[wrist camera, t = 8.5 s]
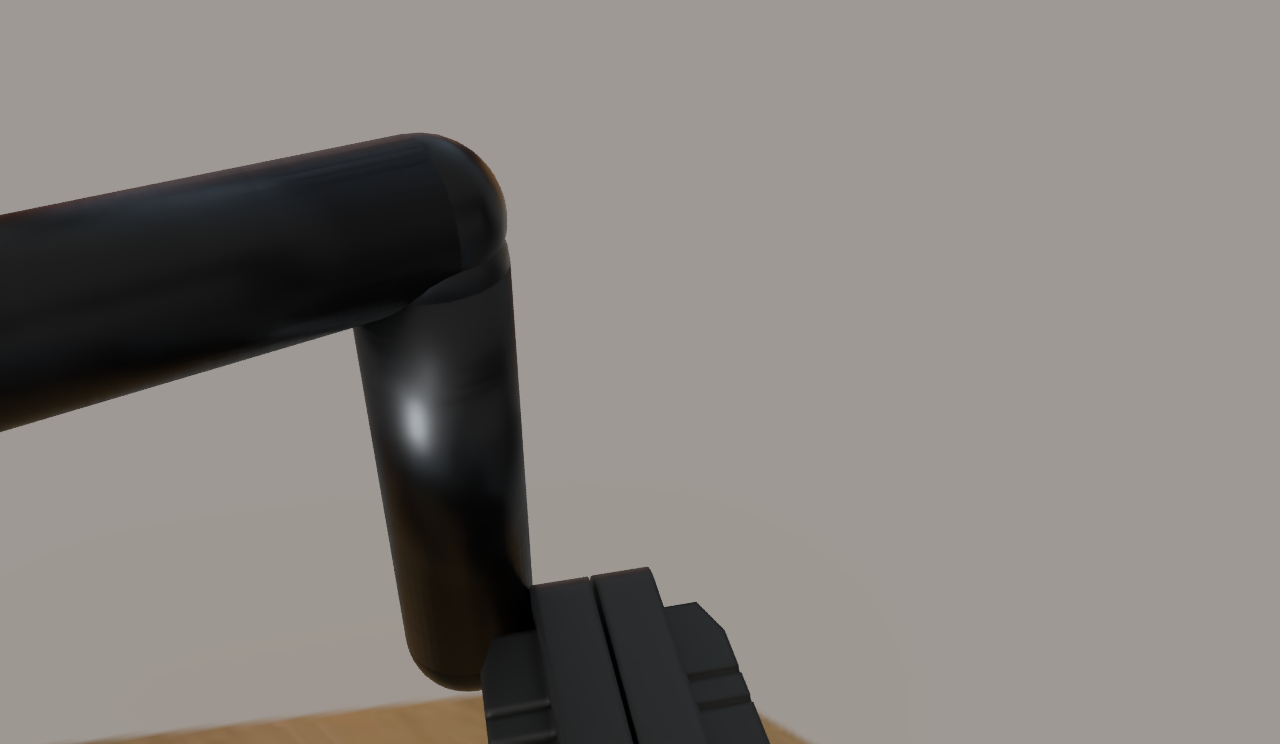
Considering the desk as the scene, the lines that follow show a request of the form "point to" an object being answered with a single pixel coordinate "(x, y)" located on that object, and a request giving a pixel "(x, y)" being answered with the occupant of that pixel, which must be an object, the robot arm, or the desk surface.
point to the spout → (305, 310)
